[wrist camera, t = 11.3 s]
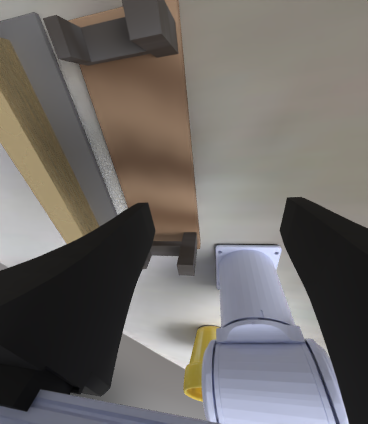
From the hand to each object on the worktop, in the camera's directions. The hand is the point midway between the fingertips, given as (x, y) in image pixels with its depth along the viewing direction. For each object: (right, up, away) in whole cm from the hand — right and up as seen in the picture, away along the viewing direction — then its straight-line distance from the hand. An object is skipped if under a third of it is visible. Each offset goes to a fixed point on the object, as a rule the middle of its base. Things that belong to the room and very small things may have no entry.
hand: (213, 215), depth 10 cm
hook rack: (-5, +5, +9) cm, 11 cm away
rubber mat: (-15, +5, +11) cm, 19 cm away
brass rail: (-16, +5, +10) cm, 19 cm away
